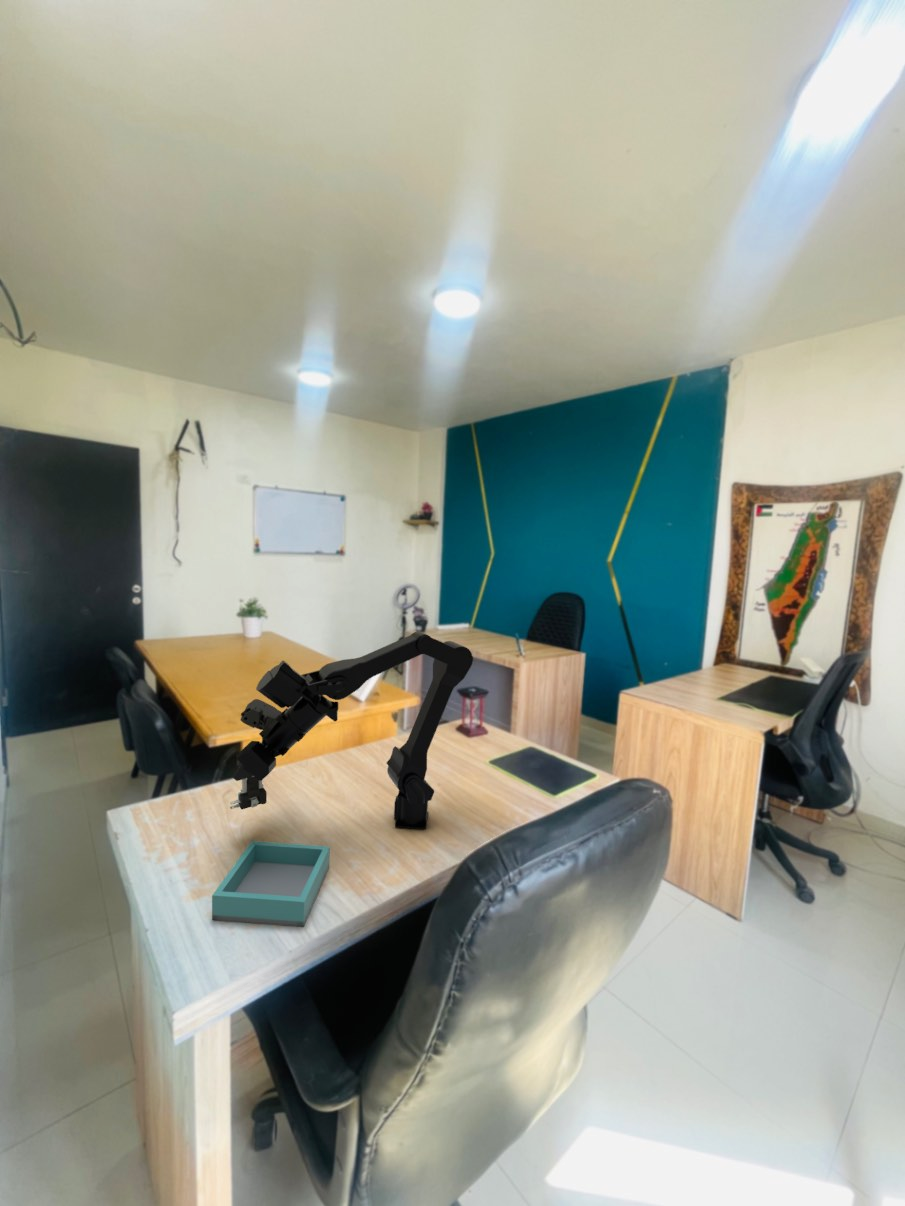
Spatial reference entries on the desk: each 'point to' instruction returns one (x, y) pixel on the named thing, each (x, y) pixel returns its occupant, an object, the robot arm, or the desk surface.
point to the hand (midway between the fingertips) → (241, 772)
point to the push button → (250, 793)
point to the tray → (272, 884)
